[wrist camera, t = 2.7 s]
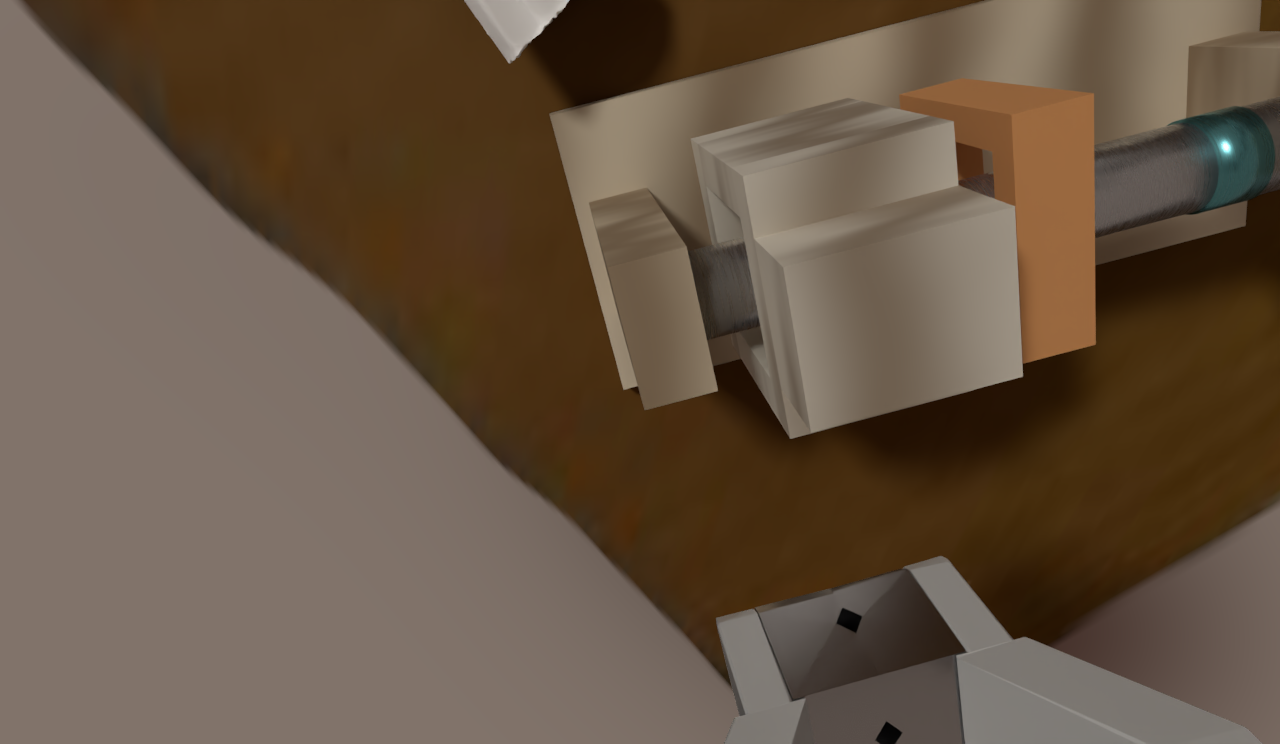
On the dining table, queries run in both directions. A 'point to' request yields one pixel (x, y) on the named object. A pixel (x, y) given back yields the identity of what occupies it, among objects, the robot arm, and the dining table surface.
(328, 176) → the dining table surface
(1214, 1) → the stand
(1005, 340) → the sleeve
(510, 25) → the pair of white wedges
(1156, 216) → the pipe
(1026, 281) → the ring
